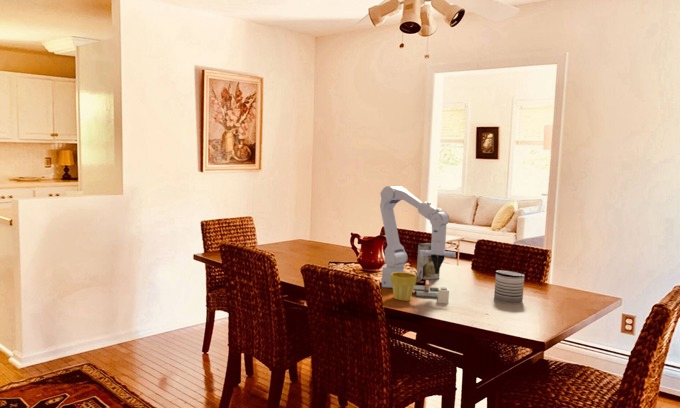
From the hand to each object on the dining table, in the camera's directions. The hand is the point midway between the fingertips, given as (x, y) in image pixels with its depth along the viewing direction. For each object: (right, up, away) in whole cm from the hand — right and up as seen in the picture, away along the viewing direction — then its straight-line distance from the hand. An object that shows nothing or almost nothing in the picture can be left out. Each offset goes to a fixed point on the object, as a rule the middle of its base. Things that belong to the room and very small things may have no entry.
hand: (436, 273), depth 232 cm
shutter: (-6, -7, +3) cm, 10 cm away
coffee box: (+1, -6, +33) cm, 34 cm away
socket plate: (-2, -9, +3) cm, 10 cm away
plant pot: (-15, -10, -5) cm, 18 cm away
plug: (+1, -11, -7) cm, 13 cm away
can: (+29, -11, -1) cm, 31 cm away
